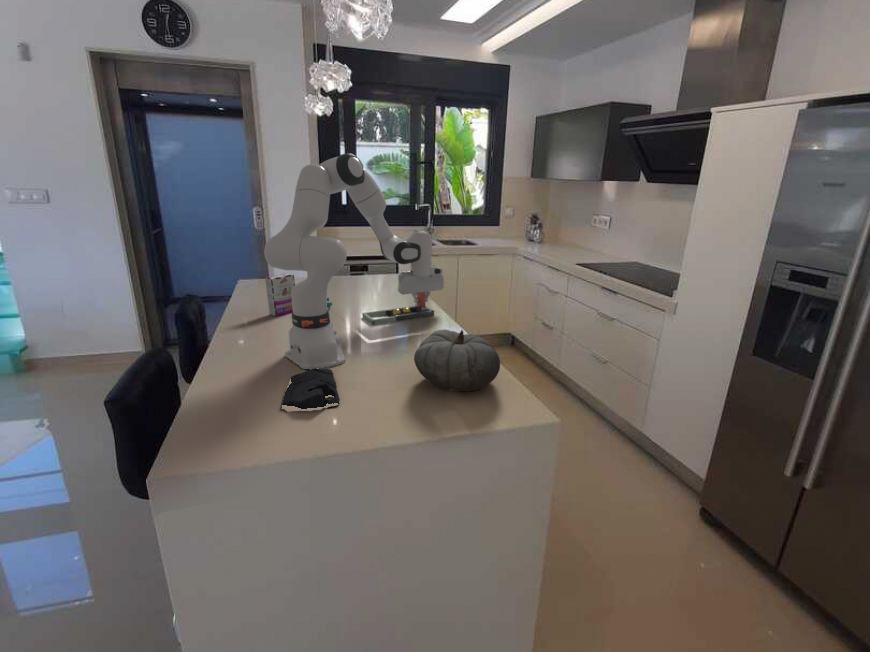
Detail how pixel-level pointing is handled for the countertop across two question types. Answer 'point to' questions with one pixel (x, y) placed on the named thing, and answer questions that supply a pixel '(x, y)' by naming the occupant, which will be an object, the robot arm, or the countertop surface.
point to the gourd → (457, 361)
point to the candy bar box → (280, 293)
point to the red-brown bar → (421, 302)
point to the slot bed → (412, 315)
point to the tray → (372, 321)
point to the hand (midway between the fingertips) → (421, 302)
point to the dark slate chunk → (311, 389)
